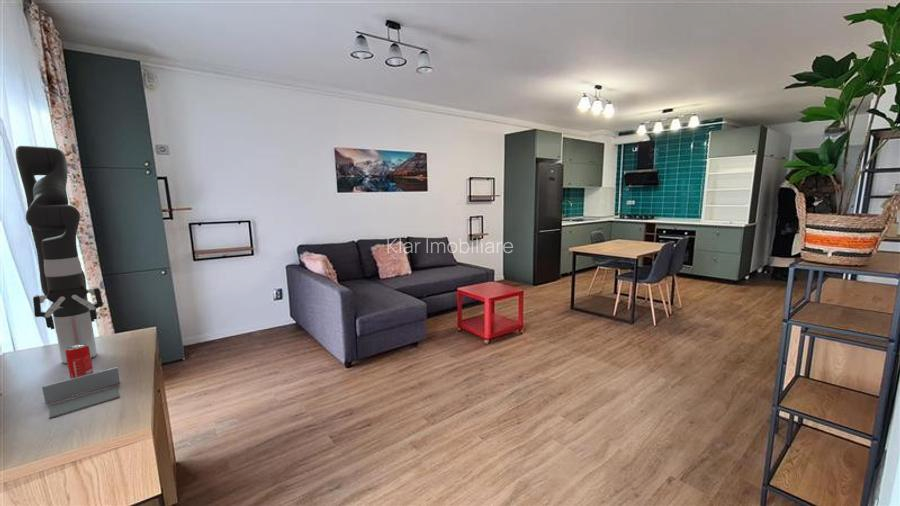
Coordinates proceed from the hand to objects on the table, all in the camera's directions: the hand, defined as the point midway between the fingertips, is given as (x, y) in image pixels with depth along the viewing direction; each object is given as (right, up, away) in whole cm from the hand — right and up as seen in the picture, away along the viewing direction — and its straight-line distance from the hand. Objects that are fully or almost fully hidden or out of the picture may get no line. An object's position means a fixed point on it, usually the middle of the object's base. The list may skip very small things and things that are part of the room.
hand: (73, 324), depth 111 cm
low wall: (+4, -20, 0) cm, 21 cm away
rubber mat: (+10, -21, -6) cm, 24 cm away
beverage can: (-3, -20, +6) cm, 21 cm away
